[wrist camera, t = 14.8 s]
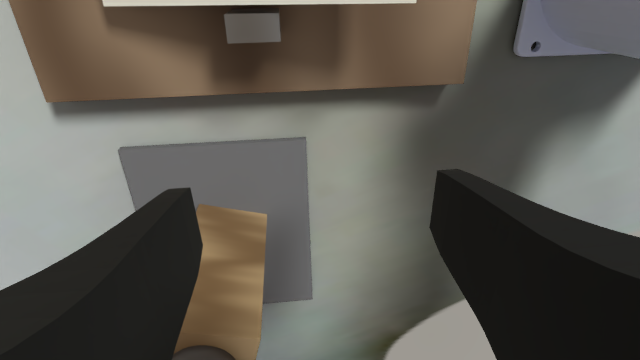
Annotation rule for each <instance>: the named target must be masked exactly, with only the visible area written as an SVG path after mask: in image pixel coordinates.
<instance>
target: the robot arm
mask: <svg viewBox="0 0 640 360" xmlns="http://www.w3.org/2000/svg"><path fill="white" fill-rule="evenodd" d="M534 42H536V47H535V49H533V50H531V46H532V44H533V43H534ZM514 53H515V54H516V55H518V56H521V57H536V56H561V55H586V54H611V53H614V54H619V55H623V56H628V57H633V58H637V59H640V0H523V4H522V9H521V14H520V19H519V23H518V28H517V33H516V37H515V42H514ZM430 230H431V232H432V235H433V238H434V240H435V243H436V245H437V248H438V250H439V252H440V255H441V257H442V258H443V260H444V262H445V264H446V265H447V267H448V269H449V271H450V272H451V274H452V276H453V278H454V279H455V281H456V283H457V284H458V286H459V288H460V290H461V291H462V293H463V295H464V296H465V298H466V300H467V301H468V303H469V305H470V307H471V308H472V310H473V312H474V313H475V315H476V317H477V319H478V321H479V322H480V324H481V326H482V328H483V330H484V332H485V334H486V337H487V339H488V341H489V343H490V345H491V347H492V350H493V352H494V354H495V357H496V359H497V360H640V238H639V237H636V236H632V235H628V234H624V233H621V232H617V231H614V230H610V229H607V228H604V227H600V226H597V225H594V224H591V223H588V222H585V221H582V220H579V219H576V218H573V217H570V216H568V215H565V214H562V213H559V212H557V211H554V210H552V209H549V208H547V207H544V206H542V205H539V204H537V203H535V202H532V201H530V200H528V199H525V198H523V197H521V196H518V195H516V194H514V193H512V192H510V191H507V190H505V189H503V188H501V187H499V186H497V185H494V184H492V183H490V182H488V181H486V180H483V179H481V178H479V177H477V176H474V175H472V174H470V173H467V172H464V171H462V170H458V169H453V170H439V171H437V177H436V184H435V192H434V199H433V207H432V214H431V222H430ZM202 249H203V242H202V238H201V233H200V229H199V224H198V220H197V215H196V211H195V206H194V202H193V197H192V193H191V188H190V187H188V188H173V189H167V190H166V191H164V192H162V193H161V194H159V195H158V196H156V197H155V198H153V199H152V200H151V201H149V202H148V203H147V204H145V205H144V206H142V207H141V208H140V209H138V210H137V211H136V212H134V213H133V214H131V215H130V216H129V217H127V218H126V219H124V220H123V221H122V222H120V223H119V224H117V225H116V226H114V227H113V228H111V229H110V230H108V231H107V232H105V233H104V234H102V235H101V236H99V237H98V238H96V239H95V240H93V241H92V242H90V243H89V244H87V245H86V246H84V247H83V248H81V249H79V250H78V251H76V252H74V253H73V254H71V255H69V256H67V257H66V258H64V259H62V260H60V261H58V262H57V263H55V264H53V265H51V266H49V267H48V268H46V269H44V270H42V271H40V272H38V273H36V274H34V275H32V276H30V277H28V278H26V279H24V280H22V281H19V282H17V283H15V284H13V285H11V286H9V287H7V288H5V289H3V290H1V291H0V360H172V358H173V354H174V351H175V347H176V344H177V340H178V337H179V334H180V331H181V328H182V325H183V322H184V319H185V316H186V312H187V309H188V306H189V303H190V300H191V297H192V294H193V290H194V287H195V284H196V281H197V277H198V273H199V268H200V262H201V256H202Z"/></svg>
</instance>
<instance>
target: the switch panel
mask: <svg viewBox="0 0 640 360" xmlns="http://www.w3.org/2000/svg"><path fill="white" fill-rule="evenodd" d="M9 3H10V5H11V8H12V11H13V13H14V16H15V19H16V22H17V24H18V27H19V30H20V32H21V35H22V38H23V40H24V43H25V46H26V48H27V51H28V54H29V57H30V59H31V62H32V65H33V67H34V70H35V73H36V75H37V78H38V81H39V83H40V86H41V89H42V91H43V94H44V97H45V100H46V102H68V101H90V100H112V99H134V98H156V97H179V96H201V95H223V94H245V93H267V92H289V91H311V90H333V89H356V88H378V87H400V86H422V85H444V84H464V78H465V72H466V66H467V59H468V53H469V47H470V41H471V34H472V28H473V22H474V16H475V9H476V3H477V0H417V1H416V3H387V4H290V5H194V6H104V5H103V1H102V0H9Z"/></svg>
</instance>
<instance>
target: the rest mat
mask: <svg viewBox="0 0 640 360" xmlns="http://www.w3.org/2000/svg"><path fill="white" fill-rule="evenodd" d="M118 152H119V155H120V158H121V162H122V165H123V169H124V172H125V175H126V179H127V182H128V185H129V189H130V192H131V195H132V199H133V202H134V205H135V209H136V211H137V210H138V209H140V208H141V207H142V206H144V205H145V204H147V203H148V202H149V201H151V200H152V199H153V198H155V197H156V196H158V195H159V194H161V193H162V192H164V191H166V190H167V189H173V188H188V187H190V188H191V193H192V197H193V202H194V206H195V211H197V208H198V205H199V204H203V205H210V206H216V207H223V208H230V209H236V210H243V211H249V212H256V213H262V214H267V226H266V246H265V265H264V284H263V303H262V304H264V303H275V302H287V301H298V300H310V299H312V276H311V251H310V227H309V202H308V178H307V153H306V137H299V138H280V139H262V140H244V141H225V142H207V143H189V144H170V145H152V146H134V147H121V148H120V149H119V150H118Z"/></svg>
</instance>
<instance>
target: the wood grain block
mask: <svg viewBox="0 0 640 360" xmlns="http://www.w3.org/2000/svg"><path fill="white" fill-rule="evenodd" d="M196 215H197V220H198V224H199V229H200V233H201V238H202V242H203V249H202V256H201V262H200V268H199V273H198V277H197V281H196V284H195V287H194V290H193V294H192V297H191V300H190V303H189V306H188V309H187V312H186V316H185V319H184V322H183V325H182V328H181V331H180V334H179V337H178V340H177V344H176V347H175V351H174V354H173V358H172V360H256V356H257V352H258V348H259V344H260V340H261V322H262V303H263V284H264V265H265V246H266V226H267V214H262V213H256V212H249V211H243V210H236V209H230V208H223V207H216V206H210V205H203V204H199V205H198V208H197V211H196Z"/></svg>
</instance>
